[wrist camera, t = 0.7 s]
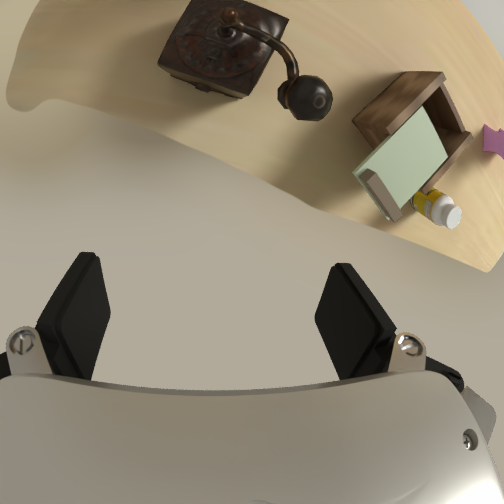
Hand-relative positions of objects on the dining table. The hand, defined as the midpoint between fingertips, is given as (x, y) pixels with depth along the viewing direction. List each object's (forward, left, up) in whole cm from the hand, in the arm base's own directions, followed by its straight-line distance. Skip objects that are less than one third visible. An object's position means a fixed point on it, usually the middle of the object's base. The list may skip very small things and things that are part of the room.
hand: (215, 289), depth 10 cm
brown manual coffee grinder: (-12, -6, -29) cm, 32 cm away
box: (-25, +17, -28) cm, 41 cm away
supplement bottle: (-21, +31, -29) cm, 47 cm away
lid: (-18, +17, -20) cm, 32 cm away
